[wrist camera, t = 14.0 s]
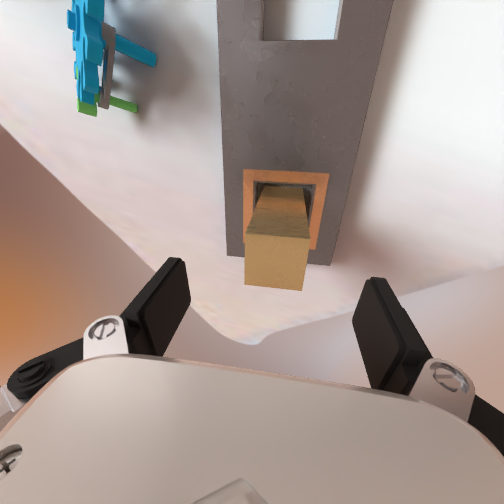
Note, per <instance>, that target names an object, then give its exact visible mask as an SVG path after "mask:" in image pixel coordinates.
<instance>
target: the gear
mask: <svg viewBox="0 0 504 504" xmlns="http://www.w3.org/2000/svg"><path fill="white" fill-rule="evenodd" d="M103 20H104V0H72V11H70V10H67V24H68V28H69V29H71V30H73V31H74V32H73V50H74V51H76V62H74V73H75V79H77V96H78V99H77V109H78V112H81V113H84V114H88V115H91V116H95V117H96V116H97V105H96V102H98V107H101V108H104V109H108V108H109V105H112V106H115V107H119V108H122V109H125V110H128V111H131V112H134V113H136V112H137V105H136V104H133V103H130V102H127V101H124V100H121V99H118V98H116V97H113V96H110V93H111V83H112V73H113V64H114V54H115V50H117V51H119V52H121V53H123V54H125V55H127V56H130V57H132V58H134V59H136V60H138V61H140V62H142V63H145V64H147V65H149V66H151V67H154V66H155V63H156V54H155V53H153V52H151V51H149V50H147V49H145V48H143V47H141V46H139V45H137V44H135V43H133V42H131V41H129V40H127V39H125V38H123V37H121V36H119V35H117V34H116V31H115V28H114V27H112V26H110V25H108V24H106V23H104V22H103ZM103 49H104V50H105V51H104V64H103V76H102V87H101V86H99V77H98V65H99V66H101V64H102V57H103Z"/></svg>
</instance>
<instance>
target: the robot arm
mask: <svg viewBox="0 0 504 504" xmlns="http://www.w3.org/2000/svg"><path fill="white" fill-rule="evenodd" d="M190 302H191V296H190V290H189V284H188V278H187V272H186V266H185V262H184V261H182V259H181V258H174V257H169V258H168V259H167V261H166V262H165V263H164V264H163V265H162V266H161V268H160V269H159V270H158V271H157V272H156V274H155V275H154V276H153V277H152V278H151V280H150V281H149V282H148V283H147V284H146V285H145V286H144V288H143V289H142V290H141V291H140V292H139V294H138V295H137V296H136V297H135V298H134V300H133V301H132V302H131V303H130V304H129V305H128V307H127V308H126V309H125V310H124V311H123V313H122V314H121V315H120V316H119V317H118V316H106V317H102V318H100V319H98V320H96V321H95V322H93V323H92V324H91V325H90V326H88V327H87V329H86V331H85V333H84V337H83V338H81V339H79V340H76V341H74V342H71V343H69V344H67V345H64V346H62V347H60V348H57V349H55V350H53V351H50V352H48V353H46V354H43V355H40V356H38V357H36V358H33V359H32V360H29V361H28V362H26V363H24V364H23V365H21V366H20V367H19V368H18V369H17V370H16V371H14V372H13V374H12V375H11V376H10V378H9V380H8V383H7V384H5V385H4V386H2V387H1V386H0V504H504V414H503V413H502V412H500V411H499V410H497V409H496V408H495V407H493V406H492V405H490V404H489V403H487V402H486V401H484V400H483V399H481V398H480V397H478V396H477V395H475V387H474V384H473V382H472V381H471V379H470V378H469V377H468V375H467V374H466V373H464V372H463V371H462V370H461V369H460V368H458V367H457V366H455V365H454V364H452V363H450V362H448V361H445V360H442V359H437V358H433V357H432V355H431V353H430V352H429V350H428V348H427V347H426V345H425V343H424V341H423V340H422V338H421V336H420V334H419V333H418V331H417V329H416V328H415V326H414V324H413V323H412V321H411V319H410V317H409V316H408V314H407V312H406V311H405V309H404V308H402V306H401V305H400V303H399V301H398V300H397V298H396V296H395V294H394V292H393V291H392V289H391V287H390V285H389V284H388V282H387V280H386V279H385V278H378V277H371V278H370V280H366V282H365V285H364V288H363V290H362V293H361V296H360V299H359V301H358V304H357V307H356V310H355V312H354V315H353V319H352V323H353V327H354V331H355V334H356V338H357V341H358V344H359V348H360V351H361V355H362V358H363V361H364V365H365V368H366V372H367V375H368V378H369V382H370V385H371V388H372V389H371V388H366V387H360V386H354V385H348V384H342V383H335V382H329V381H323V380H316V379H310V378H303V377H297V376H291V375H284V374H277V373H270V372H264V371H258V370H251V369H244V368H238V367H231V366H224V365H217V364H210V363H204V362H197V361H190V360H183V359H175V358H168V357H162V356H163V355H164V353H165V351H166V349H167V347H168V345H169V343H170V341H171V339H172V337H173V336H174V334H175V332H176V330H177V328H178V326H179V324H180V322H181V320H182V318H183V316H184V315H185V313H186V311H187V309H188V307H189V305H190Z"/></svg>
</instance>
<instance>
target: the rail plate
mask: <svg viewBox="0 0 504 504" xmlns="http://www.w3.org/2000/svg"><path fill="white" fill-rule="evenodd" d="M392 3H393V0H340V3H339V9H338V16H337V22H336V29H335V35H334V40H282V41H263V25H264V0H217V22H218V47H219V71H220V96H221V120H222V145H223V169H224V194H225V218H226V243H227V256H237V257H245V232H246V229H247V227H248V225H249V222H250V220H251V217H252V215H253V213H254V210H255V208H256V205H257V199H258V182H260V183H277V184H295V185H311V192H310V199H309V205H308V212H307V219H308V226H309V232H310V238H311V240H310V246H309V252H308V258H307V263H308V264H318V265H328V266H330V264H331V260H332V256H333V252H334V248H335V243H336V239H337V235H338V231H339V227H340V222H341V218H342V214H343V210H344V205H345V201H346V197H347V193H348V189H349V184H350V180H351V176H352V172H353V168H354V163H355V159H356V155H357V151H358V146H359V142H360V138H361V134H362V130H363V125H364V121H365V117H366V113H367V109H368V104H369V100H370V96H371V92H372V87H373V83H374V79H375V75H376V71H377V66H378V62H379V58H380V54H381V49H382V45H383V41H384V37H385V33H386V28H387V24H388V20H389V16H390V12H391V7H392Z"/></svg>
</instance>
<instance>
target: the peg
mask: <svg viewBox="0 0 504 504" xmlns="http://www.w3.org/2000/svg"><path fill="white" fill-rule="evenodd" d="M310 240H311V238H310V232H309V226H308V219H307V213H306V207H305V201H304V194H303V188H298V187H281V186H264V188H263V191H262V193H261V196H260V198H259V200H258V203H257V205H256V208H255V210H254V213H253V215H252V217H251V220H250V222H249V225H248V227H247V229H246V232H245V285H254V286H263V287H272V288H281V289H289V290H298V291H302V287H303V281H304V275H305V269H306V263H307V258H308V252H309V246H310Z"/></svg>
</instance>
